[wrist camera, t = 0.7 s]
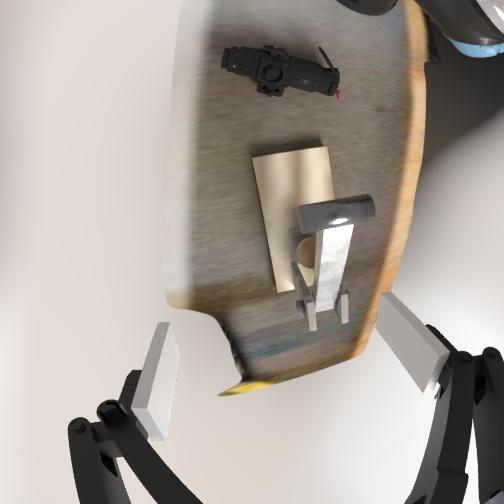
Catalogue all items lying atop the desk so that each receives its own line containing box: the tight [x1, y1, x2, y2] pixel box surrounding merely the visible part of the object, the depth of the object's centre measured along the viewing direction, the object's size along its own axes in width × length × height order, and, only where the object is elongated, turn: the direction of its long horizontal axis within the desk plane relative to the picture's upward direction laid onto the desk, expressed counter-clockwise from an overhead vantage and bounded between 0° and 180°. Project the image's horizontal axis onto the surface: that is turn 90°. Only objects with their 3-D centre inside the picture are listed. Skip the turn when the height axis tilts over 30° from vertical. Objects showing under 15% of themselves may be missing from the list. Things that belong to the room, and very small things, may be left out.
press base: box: [252, 146, 350, 331], centre depth 40 cm, size 12×24×15 cm, turn 11°
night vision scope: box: [221, 45, 340, 99], centre depth 34 cm, size 8×18×10 cm
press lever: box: [297, 194, 375, 313], centre depth 32 cm, size 7×21×3 cm, turn 11°
